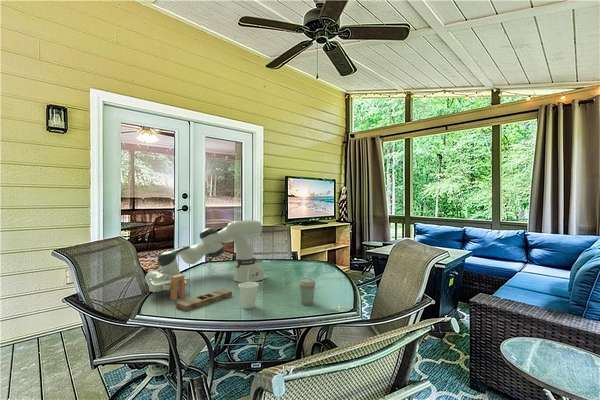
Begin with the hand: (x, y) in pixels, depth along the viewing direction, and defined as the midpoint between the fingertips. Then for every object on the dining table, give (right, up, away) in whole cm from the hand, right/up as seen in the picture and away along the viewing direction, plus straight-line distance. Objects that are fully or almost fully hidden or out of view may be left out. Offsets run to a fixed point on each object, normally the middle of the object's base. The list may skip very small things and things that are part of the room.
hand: (178, 286), depth 158 cm
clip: (-1, -7, 0) cm, 7 cm away
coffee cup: (+68, -7, -6) cm, 69 cm away
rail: (+16, -7, -4) cm, 18 cm away
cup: (+39, -7, -11) cm, 42 cm away
